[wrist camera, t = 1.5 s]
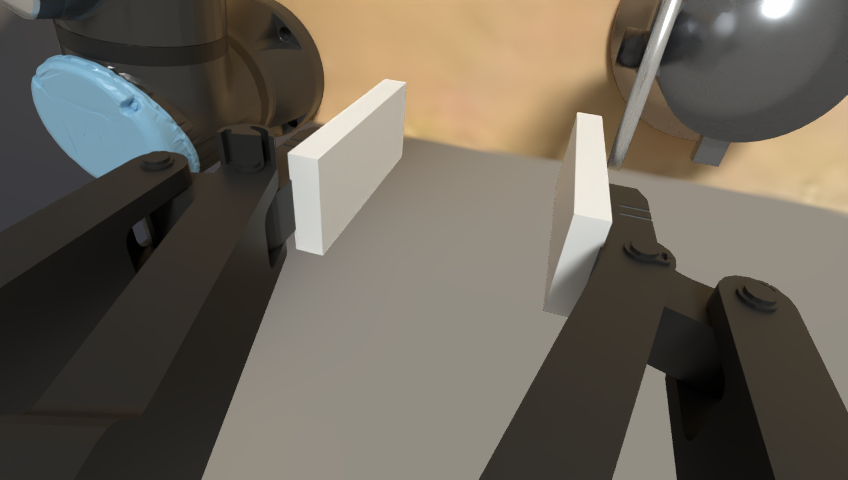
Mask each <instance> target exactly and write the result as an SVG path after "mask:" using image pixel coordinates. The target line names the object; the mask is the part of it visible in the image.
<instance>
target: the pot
mask: <svg viewBox="0 0 848 480" xmlns="http://www.w3.org/2000/svg"><path fill="white" fill-rule="evenodd" d="M662 1H663V0H622V1H621V3H620V6H619V9H618V12H617V15H616V18H615V22H614V27H613V31H612V40H611V61H612V67H613V73H614V77H615V80H616V83H617V86H618V88H619V90H620V92H621V94H622V96H623V98H624V100H625V101H626V103H627V102H628V100H629V97H630V94H631V91H632V88H633V85H634V82H635V79H636V76H637V73H638V71H635V70H630V69H625V68H620V67H615V62H616V58H617V55H618V51H619V48H620V45H621V42H622V39H623V36H624V33H625V31H626V28H627V27H631V28H637V29H643V30H649V31H652V30H653V27H654V24H655V21H656V18H657V15H658V12H659V10H660V7H661V4H662ZM847 95H848V0H682V2H681V5H680V8H679V10H678V13H677V16H676V19H675V22H674V24H673V27H672V30H671V33H670V36H669V38H668V41H667V44H666V47H665V50H664V52H663V55H662V58H661V61H660V63H659V66H658V69H657V72H656V75H655V77H654V80H653V83H652V86H651V88H650V91H649V94H648V96H647V99H646V102H645V105H644V107H643V110H642V113H641V116H640V118H641V119H642V120H643V121H645V122H646V123H647V124H649V125H650V126H652V127H654V128H655V129H657V130H659V131H661V132H663V133H666V134H669V135H671V136H674V137H678V138H682V139H686V140H694V141H697V143H696V146H695V148H694V150H693V152H692V154H691V157H690V158H691V160H692V162H696V163H702V164H707V165H712V166H719V164H720V162H721V160H722V158H723V156H724V154H725V152H726V150H727V148H728V146H729V144H730V142H754V141H761V140H766V139H771V138H775V137H778V136H781V135H784V134H787V133H790V132H792V131H795V130H797V129H799V128H801V127H803V126H805V125H807V124H809V123H811V122H813V121H815V120H816V119H818V118H819V117H821V116H822V115H824V114H825V113H827V112H828V111H829V110H831V109H832V108H833V107H834V106H836V105H837V104H838V103H839V102H840V101H841V100H843V99H844V98H845V97H846V96H847Z"/></svg>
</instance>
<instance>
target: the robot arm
mask: <svg viewBox="0 0 848 480" xmlns="http://www.w3.org/2000/svg"><path fill="white" fill-rule="evenodd" d="M0 3H2V4H3V5H5V6H6V7H8V8H9V9H11V10H12V11H14V12H16V13H17V14H18V15H20V16H22V17H23V18H25V19H26V18H27V19H53V22H54V26H55V29H56V33H57V37H58V41H59V45H60V49H61V54H62V55H56V56H53V57H51V58H49V59H47V60H46V61H45V63H43V64H42V65H40V66H39V67H38V68H37V71H36V74H37V75H35V76H34V77H33V79H32V95H33V100H34V103H35V106H36V109H37V111H38V114H39V116H40V118H41V119H42V122H43V123H44V125H45V126H46V128H47V130H48V131H49V133H50V134H51V136H52V137H53V138H54V140H55V141H56V142H57V143H58V145H59V146H60V147H61V148H62V149H63V150H64V151H65V152H66V153H67V154H68V156H70V157H71V158H72V159H73V160H74V161H76V162H77V163H78V164H79V165H80V166H81V167H82V168H83V169H84V170H86V171H87V172H88V173H90V174H91V175H92V176H94V177H96V178H97V179H95V180H93V181H92V182H90V183H88V184H86V185H84V186H82V187H81V188H79V189H77V190H75V191H73V192H72V193H70V194H68V195H66V196H64V197H63V198H61V199H59V200H57V201H55V202H54V203H52V204H50V205H48V206H46V207H45V208H43V209H41V210H39V211H37V212H36V213H34V214H32V215H30V216H28V217H27V218H25V219H23V220H21V221H19V222H17V223H16V224H14V225H12V226H10V227H9V228H7V229H5V230H3V231H1V232H0V480H201V479H202V476H203V474H204V471H205V468H206V466H207V463H208V460H209V458H210V455H211V452H212V450H213V447H214V445H215V442H216V439H217V437H218V434H219V431H220V429H221V426H222V424H223V421H224V418H225V416H226V413H227V411H228V408H229V405H230V402H231V400H232V397H233V395H234V392H235V389H236V387H237V384H238V382H239V379H240V376H241V373H242V371H243V368H244V366H245V363H246V361H247V358H248V355H249V353H250V350H251V347H252V345H253V342H254V340H255V337H256V334H257V332H258V329H259V327H260V324H261V321H262V319H263V316H264V314H265V311H266V308H267V306H268V303H269V300H270V298H271V295H272V293H273V290H274V287H275V285H276V282H277V279H278V277H279V274H280V272H281V269H282V266H283V263H284V261H285V258H286V255H287V247H286V239H287V238H288V237H289V236H290V235H291V234H292V233H293V232H294V231H295V240H296V249H298V250H303V251H306V252H310V253H315V254H319V255H322V256H323V255H324V254H325V252H326V251H327V250H328V249H329V247H330V246H331V245H332V243H333V242H334V241H335V239H336V238H337V237H338V236H339V235H340V233H341V232H342V231H343V230H344V228H345V227H346V226H347V225H348V223H349V222H350V221H351V220H352V218H353V217H354V216H355V215H356V213H357V212H358V211H359V210H360V208H361V207H362V206H363V205H364V203H365V202H366V201H367V200H368V198H369V197H370V196H371V195H372V193H373V192H374V190H375V189H376V188H377V187H378V186H379V184H380V183H381V182H382V181H383V179H384V178H385V177H386V176H387V174H388V173H389V172H390V171H391V169H392V168H393V167H394V166H395V164H396V163H397V162H398V161H399V159H400V158H401V157H402V145H403V130H404V114H405V98H406V82H401V81H395V80H390V79H384V80H383V81H382V82H380V83H379V84H378V85H376V86H375V87H374V88H373V89H371V90H370V91H369V92H367V93H366V94H365V95H363V96H362V97H361V98H359V99H358V100H357V101H355V102H354V103H353V104H351V105H350V106H349V107H348V108H346V109H345V110H344V111H342V112H341V113H340V114H338V115H337V116H336V117H334V118H333V119H332V120H330V121H329V122H328V123H327V124H325V125H324V126H323V127H321V128H319V127H312V128H309V129H306V130H302V131H299V132H298V133H297V134H295V135H294V136H292V137H291V138H290V140H287V141H286V142H284V143H283V145H280V146H279V147H277V148H276V145H275V137H279V136H283V135H287V134H289V133H292V132H293V131H295V130H297V129H298V128H300V127H301V126H303V125H304V124H305V123H307V122H308V121H309V120H310V119H311V118H312V117H313V115H314V114H315V113H316V111H317V109H318V107H319V105H320V102H321V99H322V95H323V89H324V74H323V67H322V62H321V58H320V55H319V52H318V50H317V47H316V45H315V43H314V41H313V39H312V37H311V35H310V34H309V32H308V31H307V29H306V28H305V26H304V25H303V24H302V23H301V21H300V20H299V19H298V18H297V17H296V16H295V15H294V14H293V13H292V12H291V11H290V10H288V9H287V8H286V7H284V6H283V5H281V4H280V3H278V2H276V1H275V0H0ZM218 161H221V166H220V167H219V168H218V170H217V171H216V172H215V173H202V172H204V171H205V170H206V169H208V168H210V167H211V166H212V165H214V164H215V163H217V162H218ZM140 220H142V222H143V225H144V228H145V231H146V234H147V237H148V239H147V240H146V241H144V242H143V243H141V244H138V242H137V241H136V238H135V235H134V232H133V229H132V227H133V225H135V224H136V223H137V222H139V221H140ZM675 268H676V259H675V257H674V256H673V255H672V253H671V252H670V251H669V250H668V249H666V248H665V247H664V246H662V245H661V244H659V243H657V239H656V235H655V231H654V227H653V222H652V221H651V214H650V212H649V206H648V201H647V199H646V198H645V197H644V196H643V195H642V194H641V193H640V192H639V191H638V190H637V189H634V188H629V187H624V186H619V185H614V184H609V183H608V173H607V163H606V153H605V143H604V132H603V122H602V116H598V115H592V114H586V113H581V112H577V115H576V118H575V122H574V126H573V129H572V133H571V136H570V140H569V143H568V147H567V150H566V154H565V157H564V161H563V165H562V168H561V172H560V175H559V179H558V183H557V186H556V193H555V202H554V211H553V221H552V230H551V240H550V250H549V260H548V269H547V278H546V288H545V298H544V307H543V311H546V312H550V313H554V314H557V315H562V316H565V317H568V319H567V321H566V322H565V324H564V326H563V328H562V330H561V332H560V333H559V336H558V337H557V339H556V341H555V342H554V344H553V346H552V348H551V350H550V352H549V353H548V355H547V357H546V359H545V361H544V362H543V365H542V366H541V368H540V370H539V371H538V373H537V375H536V377H535V379H534V381H533V382H532V384H531V386H530V388H529V390H528V392H527V393H526V395H525V397H524V399H523V400H522V402H521V404H520V406H519V408H518V410H517V411H516V413H515V415H514V417H513V419H512V421H511V422H510V424H509V426H508V428H507V430H506V431H505V433H504V435H503V437H502V439H501V440H500V442H499V444H498V446H497V448H496V449H495V451H494V453H493V455H492V457H491V459H490V460H489V462H488V464H487V466H486V468H485V469H484V471H483V473H482V475H481V477H480V478H479V480H612V477H613V474H614V471H615V468H616V464H617V461H618V458H619V454H620V451H621V448H622V444H623V441H624V438H625V434H626V431H627V427H628V424H629V421H630V418H631V414H632V411H633V408H634V405H635V401H636V398H637V395H638V391H639V388H640V385H641V381H642V378H643V374H644V371H645V368H646V365H647V364H648V365H650V366H652V367H654V368H656V369H658V370H660V371H662V372H664V373H666V377H665V381H666V390H667V399H668V407H669V415H670V424H671V433H672V441H673V450H674V458H675V466H676V475H677V480H848V412H847V410H846V408H845V406H844V404H843V402H842V399H841V398H840V396H839V393H838V391H837V389H836V387H835V385H834V383H833V381H832V379H831V377H830V375H829V373H828V371H827V369H826V367H825V365H824V363H823V361H822V358H821V356H820V354H819V352H818V351H817V348H816V346H815V344H814V342H813V340H812V338H811V336H810V334H809V332H808V330H807V328H806V326H805V324H804V322H803V320H802V318H801V315H800V313H799V312H798V309H797V308H796V306H795V305H794V304H793V302H792V301H791V300H790V299H789V298H788V297H786V296H785V295H784V294H783V293H781V292H780V291H779V290H778V289H776V288H775V287H773V286H772V285H769V284H768V283H765V282H763V281H759V280H755V279H752V278H749V277H742V276H736V275H735V276H728V277H724V278H723V279H722V280H720V281H719V283H718V284H717V286H716V288H715V289H714V288H712V287H709V286H707V285H704V284H702V283H699V282H697V281H694V280H692V279H690V278H688V277H686V276H684V275H682V274H680V273H679V272H677V271H676V270H675Z"/></svg>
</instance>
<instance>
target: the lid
mask: <svg viewBox="0 0 848 480" xmlns="http://www.w3.org/2000/svg"><path fill="white" fill-rule="evenodd" d="M681 2H682V0H663V1H662V4H661V7H660V10H659V12H658V15H657V18H656V21H655V24H654V27H653V30H652V31H649V30H643V29H637V28H631V27H627V28H626V31H625V33H624V36H623V39H622V42H621V45H620V48H619V51H618V55H617V58H616V62H615V67H620V68H625V69H630V70H635V71H638V73H637V76H636V79H635V82H634V85H633V88H632V91H631V94H630V97H629V100H628V102H627V105H626V108H625V111H624V114H623V117H622V120H621V123H620V126H619V129H618V132H617V135H616V138H615V141H614V144H613V147H612V150H611V153H610V156H609V159H608V163H607V168H609V169H613V170H617V171H619V170H620V168H621V166H622V163H623V161H624V158H625V155H626V153H627V150H628V148H629V145H630V142H631V140H632V137H633V134H634V132H635V129H636V126H637V124H638V121H639V118H640V116H641V113H642V110H643V107H644V105H645V102H646V99H647V96H648V94H649V91H650V88H651V86H652V83H653V80H654V77H655V75H656V72H657V69H658V66H659V63H660V61H661V58H662V55H663V52H664V50H665V47H666V44H667V41H668V38H669V36H670V33H671V30H672V27H673V24H674V22H675V19H676V16H677V13H678V10H679V8H680V5H681Z"/></svg>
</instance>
